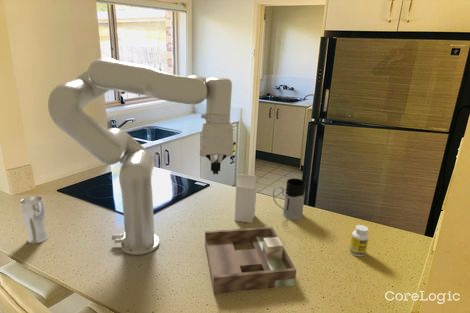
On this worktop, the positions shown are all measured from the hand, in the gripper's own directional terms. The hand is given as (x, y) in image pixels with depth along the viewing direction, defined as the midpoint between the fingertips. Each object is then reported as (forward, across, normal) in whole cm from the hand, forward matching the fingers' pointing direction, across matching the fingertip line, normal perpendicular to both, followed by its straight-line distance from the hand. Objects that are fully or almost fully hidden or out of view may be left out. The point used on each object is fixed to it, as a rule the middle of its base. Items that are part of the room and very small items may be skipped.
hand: (215, 172), depth 108 cm
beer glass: (+28, -60, +7) cm, 66 cm away
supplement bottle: (+26, +50, -11) cm, 57 cm away
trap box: (+26, +10, -13) cm, 31 cm away
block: (+24, +18, -13) cm, 32 cm away
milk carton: (+26, +15, +16) cm, 34 cm away
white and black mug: (+26, +33, +16) cm, 45 cm away
